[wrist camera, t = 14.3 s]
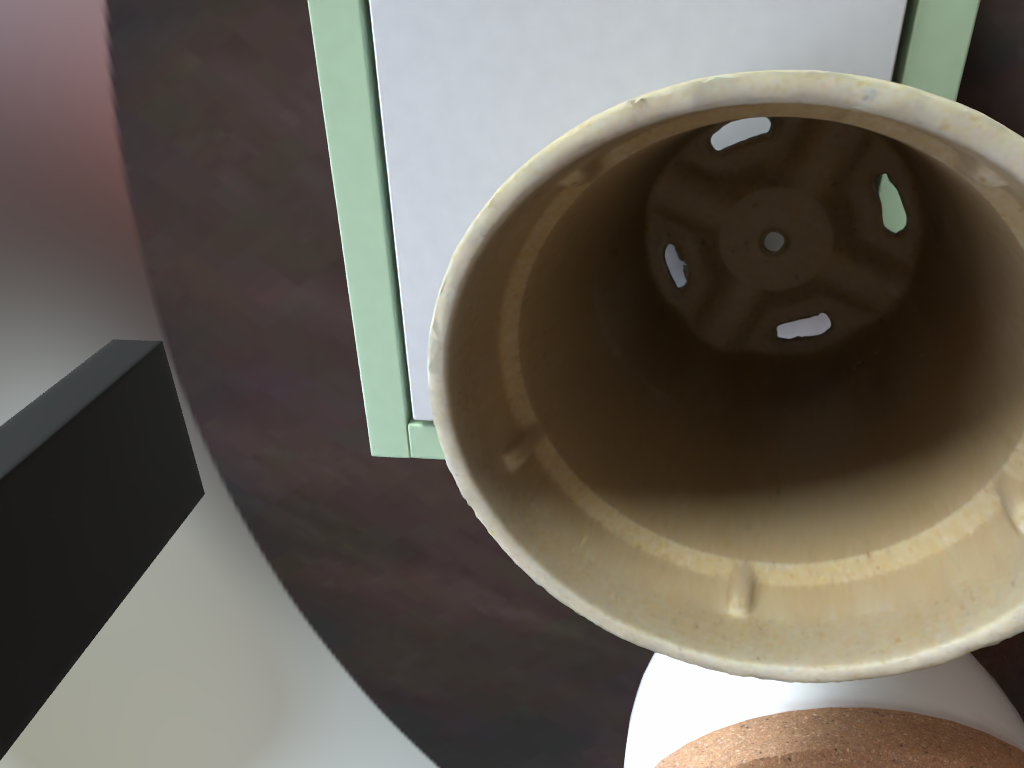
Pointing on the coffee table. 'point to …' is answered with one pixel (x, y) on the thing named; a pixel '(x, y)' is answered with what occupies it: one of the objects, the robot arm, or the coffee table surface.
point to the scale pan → (567, 100)
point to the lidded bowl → (823, 720)
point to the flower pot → (753, 376)
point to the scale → (367, 208)
